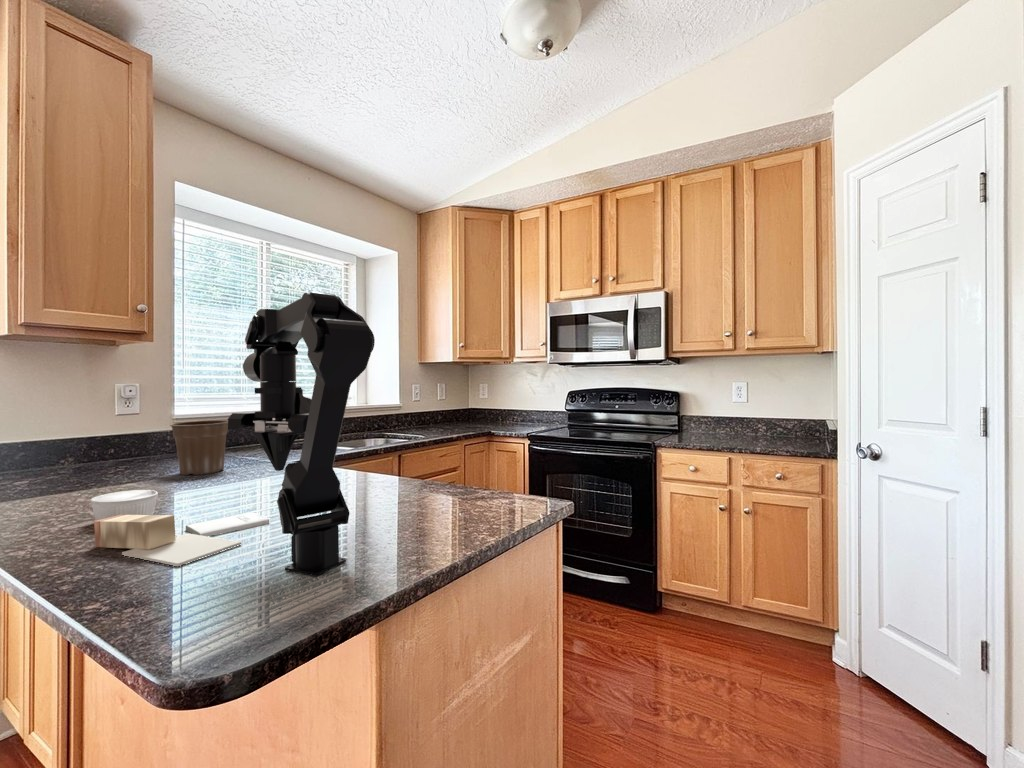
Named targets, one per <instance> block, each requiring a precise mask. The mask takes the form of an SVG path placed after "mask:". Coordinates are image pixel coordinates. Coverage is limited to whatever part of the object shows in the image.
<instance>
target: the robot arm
mask: <svg viewBox="0 0 1024 768" xmlns="http://www.w3.org/2000/svg"><path fill="white" fill-rule="evenodd" d="M302 339H303V342H304V343H305V345H306V347H307V357H308V358H307V359H309V361H310V364H311V366H312V368H313V370H314V373H315V378H314V379H315V380H314V385H313V391H312V394H311V398H309V397H307V396H304V391H303V389H302V387H300V386H297V357H296V356H297V355H298V354H299V350H298V349H297V346H298V344H299V342H300V340H302ZM244 342H245V345H246V347H245V349H246V350H253V352H252V353H250V354H249V355H248V356H247V357H246V358H245V359H244V361H243V363H242V371H243V373H244V374H245V376H246V377H247V379H249V380H251V381H252V382H257V383H260V384H259V385H260V387H254V395H255V394H257V395H258V394H260V396H259V397H260V401H259V402H260V410H259V411H257V410H256V411H245V412H244V411H243V412H232V413H231V414H230V415H229V416H228V418H227V421H228V430H242V428H252V427H254V431H250V434H251V436H254V437H255V439H257V441H258V443H259V444H260V447H262V450H263V451H264V453H265V454H266V457H267V458H268V460H269V461H270V463H271V465H272V467H273V469H274V470H275V471H277V472H282V471H283V470H284V473H283V474H284V475H283V480H282V482H281V487H282V488H281V489H280V490H279V493H278V497H277V500H276V503H277V506H278V512H279V513H278V514H279V519H280V520H279V521H280V525H281V530H282V532H281V533H282V534H284V535H286V534H287V535H289V534H290V535H291V537H290V541H291V542H290V543H291V544H290V545H291V562H292V563H290V564H288V565H285V566H284V571H287V572H291V573H298V574H303V575H309V576H313V577H315V576H316V577H317V576H319V575H322V574H324V573H326V572H328V571H329V570H332V569H334V568H336V567H338V566H340V565H343V564H344V563H346V562H347V558H346V557H340V553H339V551H340V550H339V549H340V547H339V545H340V543H339V541H340V539H339V537H340V535H339V534H340V533H339V531H340V530H339V525H346V524H349V517H350V510H349V508H348V507H349V506H348V505H347V503H346V500H345V498H344V494H343V493H342V492H343V491H342V489H341V481H340V480H339V478H338V476H337V474H336V472H335V470H334V463H335V460H336V459H335V458H336V454H337V451H338V445H339V441H340V437H341V436H340V435H341V431H342V428H343V421H344V419H345V418H344V417H345V413H346V409H347V408H346V407H347V404H348V399H349V395H350V390H351V389H350V388H351V385H352V384H353V383H354V381H356V379H357V378H359V377H360V376H361V374H362V373H364V371H365V370H366V369H367V367H368V363H369V361H370V357H371V354H372V352H373V350H374V347H375V335H374V332H373V331H372V330H371V328H370V326H369V324H368V323H367V322H366V320H365V318H364V317H363V316H362V315H360V314H359V313H358V312H356V311H354V310H353V309H352V308H350V307H349V306H348V305H346V304H345V303H344V301H343V300H342V298H341V297H340V296H337V295H336V294H334V293H326V292H317V291H308V292H304V293H303V294H302V296H301V297H300V298H298V299H297V300H294V301H292V302H290V303H289V304H287V305H285V306H283V307H282V308H275V309H274V308H259V309H258V310H257V312H256V313H255V314H253V316H252V318H251V321H249V324H248V329H247V332H246V334H245V338H244ZM302 434H304V438H303V443H302V448H301V454H300V458H299V460H298V461H297V462H290V463H287V461H288V458H289V455H290V452H291V450H292V447H293V445H294V443H295V441H296V440H297V438H298V437H299V436H300V435H302ZM286 463H287V464H286ZM326 512H327V513H326ZM322 513H323V514H322ZM316 514H317V515H316ZM306 516H307V517H306Z"/></svg>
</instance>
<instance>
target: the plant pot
mask: <svg viewBox="0 0 1024 768" xmlns="http://www.w3.org/2000/svg"><path fill="white" fill-rule="evenodd" d="M169 427H171V429H172V436H173V438H174V441H175V447H176V449H175V450H176V453H177V454H176V455H177V461H178V462H177V463H178V469H179V474H180V475H181V476H190V475H194V476H198V475H210V474H214V473H218V472H220V471H224V470H225V455H226V445H227V444H226V443H227V434H228V432H229V431H228V430H229V429H228V420H222V419H221V420H219V419H218V420H217V419H215V420H212V419H211V420H198V421H197V420H196V421H184V422H183V421H182V422H175V423H174V422H173V423H171V424H169Z"/></svg>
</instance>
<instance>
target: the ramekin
mask: <svg viewBox="0 0 1024 768" xmlns="http://www.w3.org/2000/svg"><path fill="white" fill-rule="evenodd" d="M158 497H159V493H158V491H157V490H154V489H135V490H134V489H133V490H132V489H131V490H122V491H115V492H110V493H105V494H101V495H97V496H95V497H92V498H90V505H91V506H92V507H91V508H92V510H93V511H92V512H93V516H94V521H97V520H101V519H106V518H110V517H114V516H118V515H154V514H155V513H154V512H155V510H156V509H155V508H156V502H157V498H158Z"/></svg>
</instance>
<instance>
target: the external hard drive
mask: <svg viewBox="0 0 1024 768" xmlns="http://www.w3.org/2000/svg"><path fill="white" fill-rule="evenodd" d="M269 524H270V518H268V517H266V516H264V515H261V514H259V513H256V512H248V513H243V514H238V515H233V516H228V517H223V518H218V519H212V520H207V521H203V522H202V521H201V522H197V523H192V524H188V525H185V532H187V533H189V532H190V533H189V534H191V533H192V534H196V535H202V536H210V537H212V536H211V535H215V536H217V535H216V534H219V535H221V534H220V533H224V534H226V533H225V532H229V533H231V532H230V531H233V532H236V531H235V530H238V531H241V530H240V529H242V530H246V529H245V528H247V529H250V527H251V528H256V527H259V526H264V525H265V526H266V525H269Z"/></svg>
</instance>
